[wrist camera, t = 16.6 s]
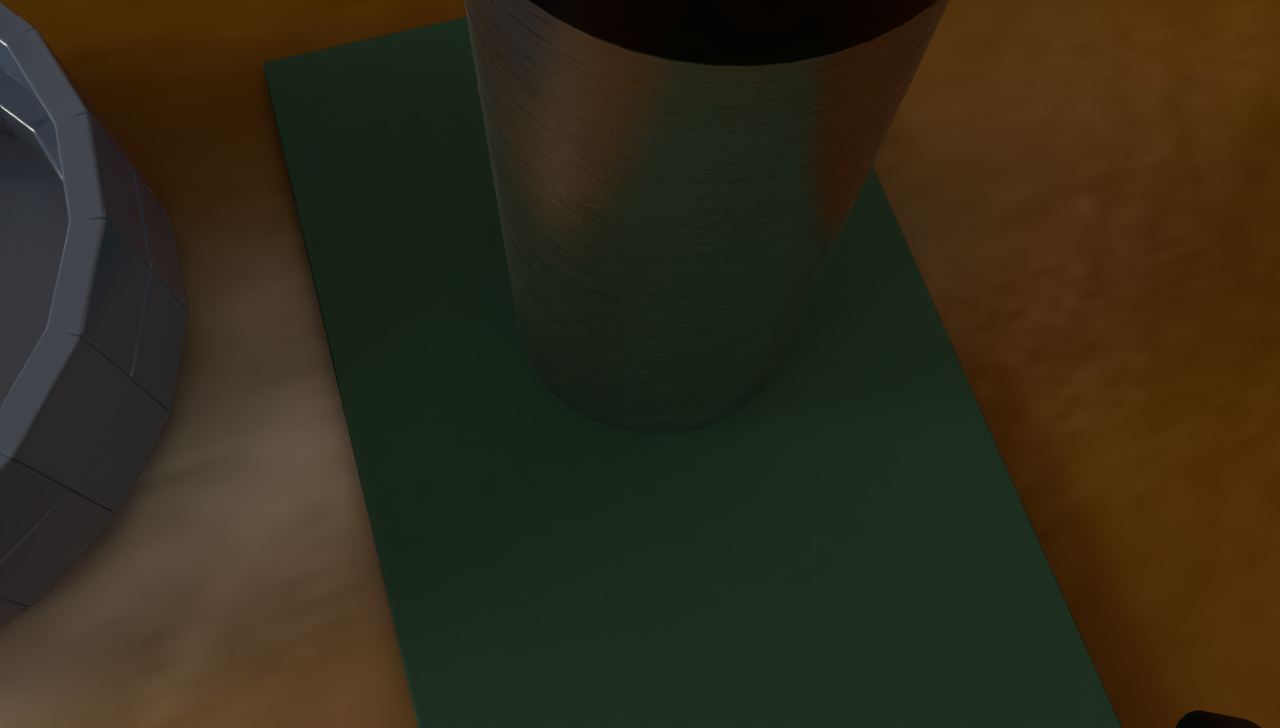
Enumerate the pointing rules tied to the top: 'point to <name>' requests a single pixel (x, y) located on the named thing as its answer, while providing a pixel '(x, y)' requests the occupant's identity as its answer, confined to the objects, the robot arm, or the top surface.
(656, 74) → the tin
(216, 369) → the top surface
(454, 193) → the mat
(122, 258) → the blue bowl
